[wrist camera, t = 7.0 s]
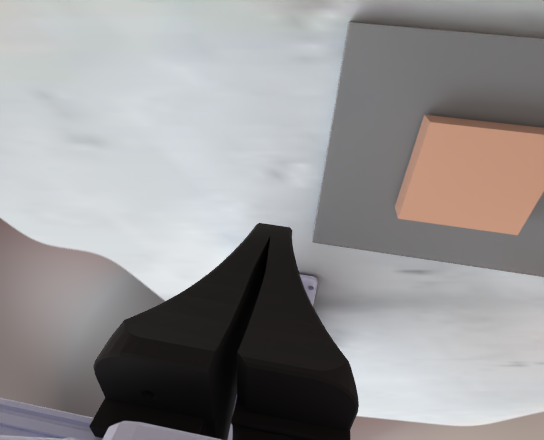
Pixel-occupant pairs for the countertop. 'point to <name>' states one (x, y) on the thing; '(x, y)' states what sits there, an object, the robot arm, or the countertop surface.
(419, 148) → the tile
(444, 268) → the countertop surface
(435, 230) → the slate board
